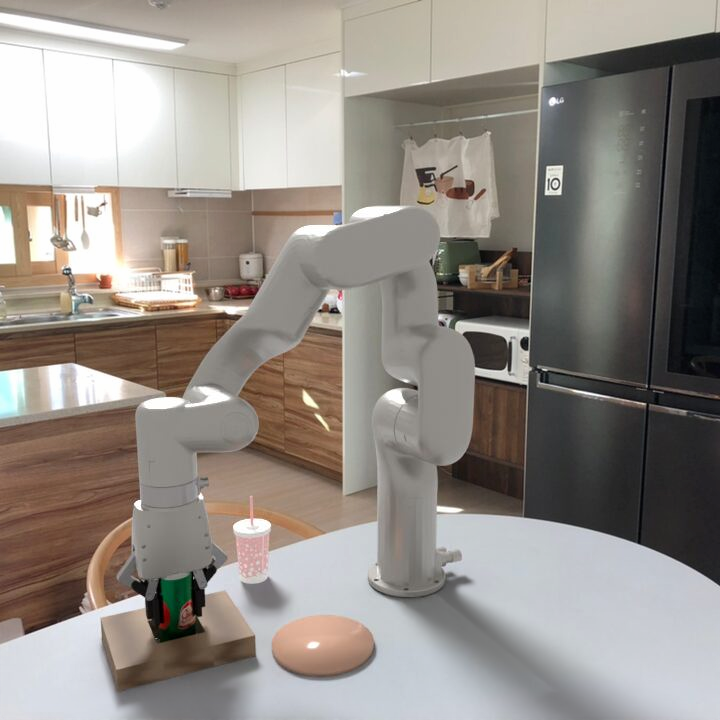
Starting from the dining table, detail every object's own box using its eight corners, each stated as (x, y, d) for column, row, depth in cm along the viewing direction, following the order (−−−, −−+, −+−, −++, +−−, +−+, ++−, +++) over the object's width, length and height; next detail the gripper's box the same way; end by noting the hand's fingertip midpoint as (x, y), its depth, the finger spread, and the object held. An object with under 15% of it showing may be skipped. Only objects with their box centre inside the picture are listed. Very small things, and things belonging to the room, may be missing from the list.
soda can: (187, 658, 103) (183, 575, 100) (152, 654, 104) (147, 571, 101) (202, 637, 108) (198, 558, 105) (169, 634, 109) (164, 555, 106)
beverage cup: (257, 565, 130) (255, 486, 127) (279, 577, 126) (278, 496, 123) (227, 577, 126) (224, 496, 123) (249, 589, 121) (247, 506, 119)
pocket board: (226, 608, 116) (225, 590, 115) (255, 655, 103) (255, 635, 103) (101, 637, 108) (100, 617, 107) (117, 691, 96) (116, 669, 95)
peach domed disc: (347, 611, 115) (347, 606, 114) (391, 659, 102) (392, 654, 102) (257, 634, 109) (257, 629, 108) (294, 687, 96) (293, 682, 96)
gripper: (224, 473, 108) (228, 592, 112) (98, 492, 101) (107, 619, 104) (240, 489, 102) (244, 615, 105) (106, 512, 94) (116, 646, 98)
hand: (176, 616), depth 105 cm, fingers closed on soda can, 5 cm apart
